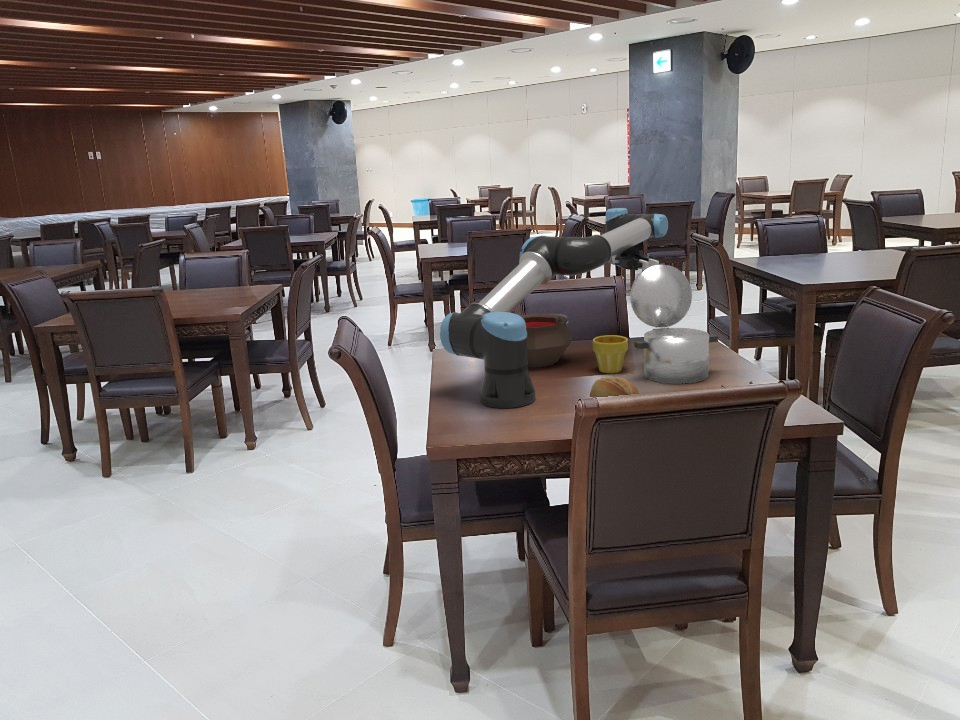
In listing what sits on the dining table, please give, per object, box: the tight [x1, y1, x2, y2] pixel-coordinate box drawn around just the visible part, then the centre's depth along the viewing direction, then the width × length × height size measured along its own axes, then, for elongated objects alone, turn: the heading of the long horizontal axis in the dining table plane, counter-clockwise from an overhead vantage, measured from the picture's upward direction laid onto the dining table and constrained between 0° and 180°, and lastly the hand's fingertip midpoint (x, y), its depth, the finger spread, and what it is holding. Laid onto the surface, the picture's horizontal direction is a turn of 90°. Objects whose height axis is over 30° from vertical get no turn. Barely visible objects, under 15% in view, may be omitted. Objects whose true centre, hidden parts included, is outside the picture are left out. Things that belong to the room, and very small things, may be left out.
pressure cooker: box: [633, 327, 719, 385], centre depth 211 cm, size 24×21×12 cm
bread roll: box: [589, 376, 640, 398], centre depth 186 cm, size 10×15×8 cm, turn 40°
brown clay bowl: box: [511, 310, 574, 368], centre depth 233 cm, size 24×24×16 cm
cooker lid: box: [629, 264, 693, 329], centre depth 218 cm, size 19×19×4 cm
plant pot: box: [592, 334, 629, 374], centre depth 219 cm, size 10×10×10 cm
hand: (652, 266), depth 223 cm, fingers open, 2 cm apart
